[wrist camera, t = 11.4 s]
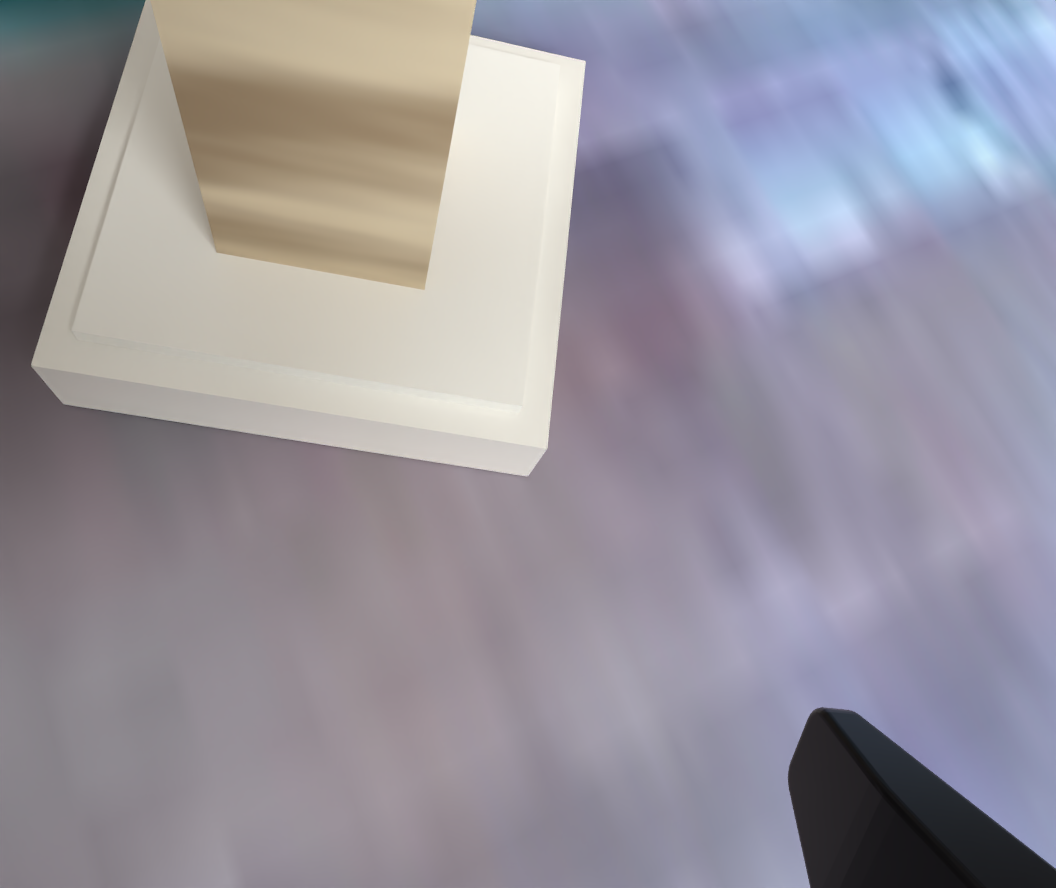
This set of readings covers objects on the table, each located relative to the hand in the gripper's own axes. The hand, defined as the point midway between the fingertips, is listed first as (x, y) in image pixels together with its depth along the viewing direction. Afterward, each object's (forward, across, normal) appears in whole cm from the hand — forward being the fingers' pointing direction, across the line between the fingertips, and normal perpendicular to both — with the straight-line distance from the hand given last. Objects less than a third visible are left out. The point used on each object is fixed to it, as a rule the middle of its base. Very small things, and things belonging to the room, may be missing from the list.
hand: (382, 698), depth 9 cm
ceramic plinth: (+19, +3, 0) cm, 19 cm away
